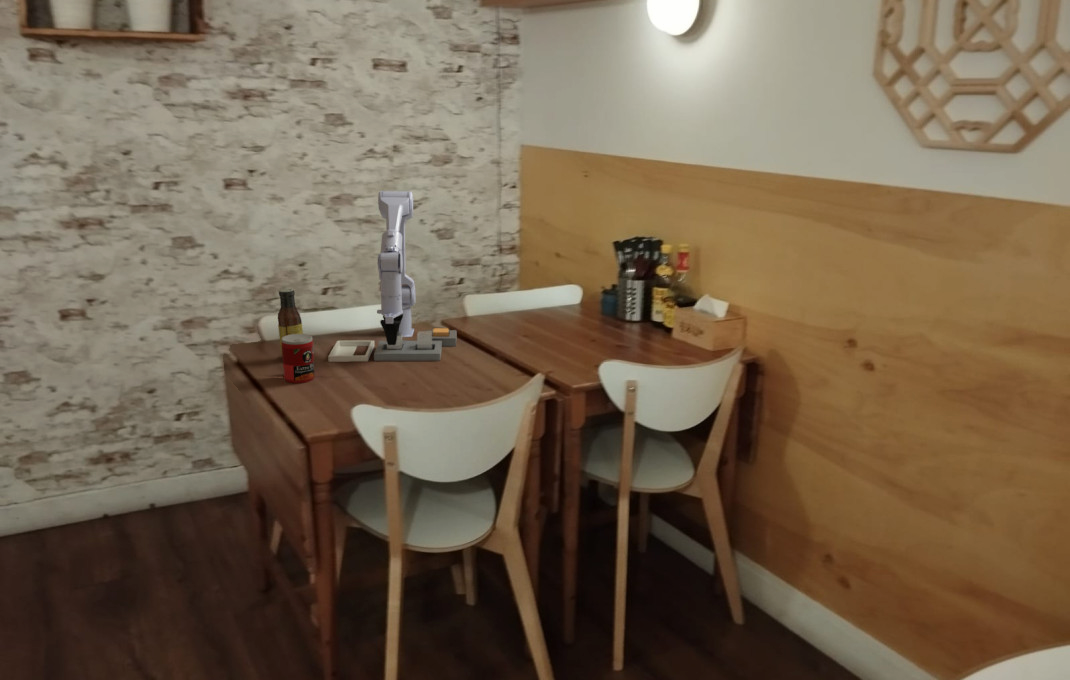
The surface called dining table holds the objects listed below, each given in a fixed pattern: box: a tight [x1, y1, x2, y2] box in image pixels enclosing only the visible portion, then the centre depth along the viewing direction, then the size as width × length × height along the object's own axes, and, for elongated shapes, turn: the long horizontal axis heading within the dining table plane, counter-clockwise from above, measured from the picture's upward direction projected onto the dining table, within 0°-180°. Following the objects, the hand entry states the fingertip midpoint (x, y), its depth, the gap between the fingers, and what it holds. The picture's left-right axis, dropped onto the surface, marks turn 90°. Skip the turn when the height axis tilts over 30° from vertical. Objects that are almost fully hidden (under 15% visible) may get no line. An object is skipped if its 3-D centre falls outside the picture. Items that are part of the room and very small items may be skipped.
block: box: [416, 330, 433, 350], centre depth 235 cm, size 4×4×6 cm
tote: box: [327, 340, 375, 363], centre depth 235 cm, size 16×11×2 cm
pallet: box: [373, 340, 443, 362], centre depth 235 cm, size 13×18×3 cm
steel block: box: [387, 332, 404, 350], centre depth 234 cm, size 4×4×6 cm
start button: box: [432, 327, 450, 337], centre depth 247 cm, size 4×4×3 cm
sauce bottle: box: [277, 288, 304, 360], centre depth 227 cm, size 6×6×20 cm
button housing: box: [426, 329, 458, 347], centre depth 248 cm, size 9×9×3 cm
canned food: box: [281, 333, 316, 384], centre depth 213 cm, size 8×8×11 cm
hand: (392, 342), depth 234 cm, fingers open, 4 cm apart
